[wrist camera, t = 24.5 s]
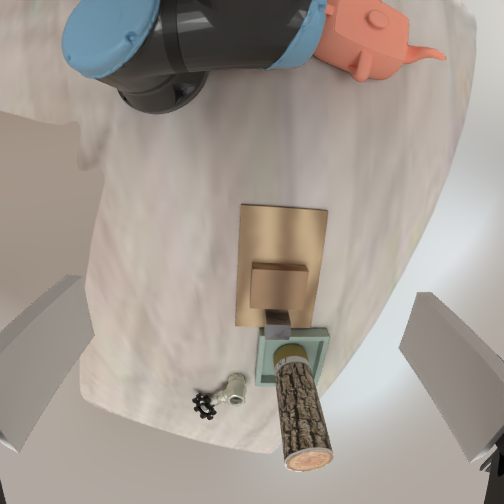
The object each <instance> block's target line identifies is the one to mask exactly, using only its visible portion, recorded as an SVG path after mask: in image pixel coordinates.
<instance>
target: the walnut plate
mask: <svg viewBox="0 0 504 504" xmlns="http://www.w3.org/2000/svg"><path fill="white" fill-rule="evenodd" d="M308 276H309V271H308V269H307V267H306V265H298V264H277V263H256V262H252V270H251V286H250V308H254V309H282V310H303V309H304V302H305V296H306V289H307V283H308Z"/></svg>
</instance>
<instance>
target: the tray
mask: <svg viewBox="0 0 504 504" xmlns="http://www.w3.org/2000/svg"><path fill="white" fill-rule="evenodd" d="M329 339H330V335H329V333H328V330H327V328H291V332H290V338H289V340H265V334H264V327H259V338H258V349H257V360H256V370H255V386H276V382H275V373H274V363H273V357H274V354H275V352H276V351H277V350H278V349H279V348H281V347H283V346H285V345H289V344H294V345H298V346H301V347H302V348H304V349H305V351H306V353H307V356H308V360H309V364H310V367H311V371H312V374H313V378H314V382H315V386H317V385H318V381H319V377H320V374H321V370H322V367H323V363H324V359H325V355H326V351H327V347H328V343H329Z"/></svg>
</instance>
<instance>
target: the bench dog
mask: <svg viewBox="0 0 504 504" xmlns="http://www.w3.org/2000/svg"><path fill="white" fill-rule="evenodd" d="M263 323H264V334H265V340H289V338H290V332H291V321H290V317H289V313H288V310H282V309H264V318H263Z"/></svg>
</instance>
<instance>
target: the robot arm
mask: <svg viewBox="0 0 504 504" xmlns="http://www.w3.org/2000/svg"><path fill="white" fill-rule="evenodd" d="M326 6H327V0H81V2H80V3H79V5H78V6H77V7H76V8H75V9H74V10H73V12H72V13H71V15H70V17H69V18H68V21H67V23H66V25H65V28H64V31H63V36H62V52H63V56H64V58H65V60H66V62H67V63H68V65H70V66H71V67H72V68H73V69H75V70H77V71H78V72H80V73H81V75H83V76H84V77H87V78H90V79H91V78H93V79H96V80H98V81H100V82H103V83H105V84H108V85H110V86H112V87H115V88H117V90H118V92H119V94H120V96H121V98H122V99H123V100H124V101H125V102H126V103H127V104H128V105H129V106H131V107H132V108H134V109H136V110H139V111H141V112H144V113H148V114H164V113H169V112H172V111H175V110H177V109H179V108H181V107H183V106H184V105H186V104H187V103H189V102H190V101H191V100H192V99H193V98H194V97H195V96H196V95H197V94H198V93H199V91H200V90H201V88H202V87H203V85H204V83H205V81H206V78H207V74H208V71H210V70H225V69H261V70H271V69H273V68H296V67H298V66H301V65H303V64H305V63H306V62H307V61H308V60H309V59H310V58H311V57H312V55H313V54H314V52H315V50H316V48H317V46H318V44H319V42H320V39H321V36H322V33H323V29H324V25H325V20H326V14H325V12H324V11H325V9H326ZM94 336H95V335H94V331H93V327H92V322H91V318H90V314H89V309H88V304H87V299H86V294H85V289H84V283H83V277H82V276H76V275H66V276H65V277H64V278H62V279H61V280H60V281H59V282H57V283H56V284H55V285H54V286H52V287H51V288H50V289H49V290H48V291H47V292H45V293H44V294H43V295H42V296H40V297H39V298H38V299H37V300H36V301H35V302H33V303H32V304H31V305H30V306H29V307H28V308H26V309H25V310H24V311H23V312H22V313H21V314H20V315H18V316H17V317H16V318H15V319H14V320H13V321H12V322H11V323H10V324H9V325H7V327H5V328H4V329H3V330H2V331H1V332H0V441H1V443H2V444H3V445H5V446H7V447H8V448H10V449H12V450H13V451H15V452H17V453H19V452H20V451H21V449H22V447H23V445H24V444H25V442H26V440H27V438H28V436H29V435H30V433H31V431H32V430H33V428H34V426H35V424H36V423H37V421H38V420H39V418H40V416H41V415H42V413H43V411H44V410H45V408H46V406H47V405H48V403H49V402H50V400H51V399H52V397H53V395H54V394H55V392H56V391H57V389H58V388H59V386H60V385H61V383H62V382H63V380H64V379H65V377H66V376H67V374H68V373H69V371H70V370H71V368H72V367H73V365H74V364H75V362H76V361H77V360H78V358H79V357H80V355H81V354H82V352H83V351H84V350H85V348H86V347H87V345H88V344H89V343H90V341H91V340H92V338H93V337H94ZM399 349H400V351H401V352H402V354H403V355H404V357H405V358H406V360H407V361H408V363H409V364H410V366H411V367H412V369H413V370H414V372H415V373H416V375H417V376H418V378H419V379H420V381H421V382H422V384H423V386H424V387H425V389H426V390H427V392H428V393H429V395H430V396H431V398H432V400H433V401H434V403H435V405H436V406H437V408H438V410H439V411H440V413H441V415H442V416H443V418H444V419H445V421H446V423H447V424H448V426H449V428H450V430H451V431H452V433H453V435H454V436H455V438H456V440H457V442H458V444H459V445H460V447H461V449H462V451H463V452H464V454H465V456H466V458H467V460H468V462H469V463H471V462H473V461H475V460H477V459H479V458H481V457H482V456H484V455H485V454H486V453H487V452H488V451H489V450H490V449H491V448H492V447H493V445H494V444H496V446H497V447H498V448H497V449H496V450H495V452H494V453H493V454H492V455H491V456H490V457H489V458H488V459H487V460H486V461H485V462H484V463H483V464H482V465H481V467H480V470H481V471H482V470H483V469H484V468H485V467H486V466H487V465H488V464H489V463H490V462H491V465H490V466H489V467H488V468H487V469H486V470H485V471H486V472H490V475H489V481H488V486H487V492H486V496H485V501H484V504H504V361H503V360H502V359H501V358H500V357H499V356H498V355H497V354H496V353H495V352H494V351H493V350H492V349H491V348H490V347H489V346H488V345H487V344H486V343H485V342H484V341H483V340H482V339H481V338H480V337H479V336H478V335H477V334H475V332H474V331H473V330H472V329H471V328H470V327H468V326H467V325H466V324H465V323H464V322H463V321H462V320H461V319H460V318H459V317H458V316H457V315H456V314H455V313H453V311H451V310H450V309H449V308H448V307H447V306H446V305H445V304H444V303H443V302H442V301H440V300H439V299H438V298H437V297H436V296H435V295H434V294H433V293H431V292H417V295H416V299H415V302H414V305H413V308H412V311H411V314H410V318H409V321H408V324H407V326H406V329H405V332H404V335H403V338H402V340H401V343H400V346H399ZM0 504H6V501H5V497H4V493H3V489H2V485H1V481H0Z"/></svg>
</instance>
